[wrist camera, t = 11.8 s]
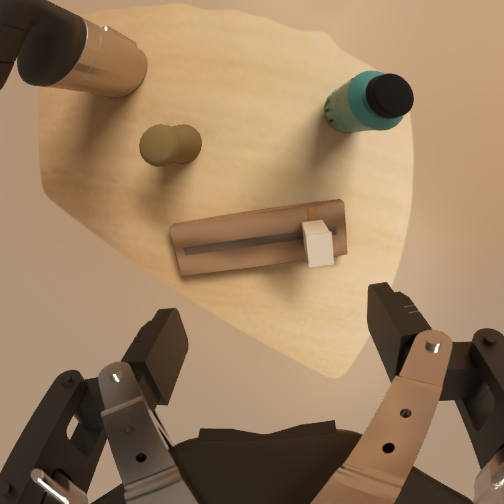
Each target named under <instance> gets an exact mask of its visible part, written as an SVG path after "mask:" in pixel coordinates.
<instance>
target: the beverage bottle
mask: <svg viewBox="0 0 504 504" xmlns="http://www.w3.org/2000/svg"><path fill="white" fill-rule="evenodd" d="M350 80H351V79H350ZM348 81H349V80H348ZM342 86H343V87H342ZM342 86H341V88H340V89H339V90H337V91H336V90H335V91H336V92H335V93H333V94H332V95H331V96H330V97H329V96H328V97H329V98H328V97H327V100H326V103H325V105H324V107H325V108H324V111H325V112H324V113H325V117H326V119H327V121H328V122H329V123H328V124H330V125H331V126H332V127H333V129H334V128H335V129H336V131H337V130H338V132H339V131H341V132H345V133H348V132H349V133H350V132H359V131H368V130H388V129H391V128H393V127H395V126H396V125H397V124H398V123H399V122H400V121H401V120H402V118H403V116H404V115H405V114H406V113H408V112H409V111H410V109H411V108H412V105H413V101H414V97H413V92H412V89H411V87H410V85H409V84H408V83H407V82H406V81H405V80H404V79H403V78H402V77H400V76H398V75H395V74H384V73H382V72H378V71H366V72H362V73H360V74H358V75H357V76H356V77H355V78H354V79H353V78H352V80H351V81H350V82H348V83H347V84H345V85H342Z"/></svg>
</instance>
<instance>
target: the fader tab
mask: <svg viewBox="0 0 504 504" xmlns="http://www.w3.org/2000/svg"><path fill="white" fill-rule="evenodd" d="M302 230H303V239H304V247H305V251H306V255H307V258H308V264H309V268H311V267H318V266H325V265H332V264H334V258H333V243H332V233H331V231H329V230H328V228H327V226H326V225H325V223H324V222H323V220H315V221H307V222H302Z"/></svg>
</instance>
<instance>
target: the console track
mask: <svg viewBox="0 0 504 504" xmlns="http://www.w3.org/2000/svg"><path fill="white" fill-rule="evenodd" d="M315 220H323V222H324V223H325V225H326V226H327V228H328V230H329V231H331V233H332V243H333V256H339V255H346V254H347V237H346V222H345V209H344V202H343V201H342V200H340V199H338V200H329V201H321V202H313V203H306V204H298V205H290V206H283V207H276V208H269V209H262V210H255V211H248V212H242V213H235V214H229V215H223V216H217V217H210V218H204V219H198V220H193V221H187V222H181V223H175V224H173V225H172V226H171V227H170V228H169V229H170V233H171V237H172V241H173V245H174V249H175V252H176V256H177V260H178V263H179V267H180V271H181V274H182V276H184V275H193V274H201V273H209V272H217V271H225V270H233V269H241V268H249V267H257V266H265V265H272V264H280V263H287V262H295V261H302V260H308V258H307V255H306V251H305V247H304V239H303V230H302V222H307V221H315Z"/></svg>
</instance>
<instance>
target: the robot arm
mask: <svg viewBox="0 0 504 504" xmlns="http://www.w3.org/2000/svg"><path fill="white" fill-rule="evenodd" d="M17 56H18V57H17ZM16 58H17V67H18V72H19V75H20V77H21V78H22V80H23V81H25V82H26V83H28V84H30V85H34V86H43V87H51V88H60V89H67V90H74V91H81V92H87V93H93V94H98V95H104V96H107V97H123V96H126V95H128V94H130V93H131V92H133V91H134V90H135V89H136V88H137V87H138V86H139V85H140V83H141V82H142V81H143V79H144V76H145V74H146V70H147V60H146V57H145V54H144V53H143V52H142V51H141V50H140V49H138V48H137V46H136V42H134V41H133V40H131V39H129V38H128V37H126V36H124V35H123V34H121V33H119V32H118V31H116V30H114V29H112V28H111V27H109V26H105V27H102V28H101V27H99V26H98V25H96V24H94V23H92V22H90V21H88V20H86V19H84V18H82V17H80V16H78V15H76V14H73V13H71V12H70V11H68V10H66V9H63V8H61V7H59V6H57V5H55V4H53V3H51V2H49V1H47V0H0V90H1V89H2V88H3V86H4V84H5V82H6V80H7V78H8V76H9V74H10V72H11V70H12V67H13V65H14V61H15V60H16ZM367 323H368V328H369V332H370V334H371V336H372V338H373V341H374V343H375V345H376V348H377V350H378V352H379V355H380V357H381V360H382V362H383V364H384V367H385V369H386V372H387V374H388V376H389V379H390V382H391V385H390V387H389V389H388V391H387V393H386V395H385V397H384V399H383V401H382V402H381V404H380V406H379V408H378V410H377V412H376V413H375V415H374V417H373V419H372V420H371V422H370V424H369V426H368V427H367V429H366V431H365V432H364V434H363V435H362V434H359V433H357V432H353V431H348V430H342V429H336V426H335V420H332V421H326V422H319V423H312V424H303V425H299V426H295V427H292V428H288V429H285V430H281V431H278V432H274V433H271V434H257V433H251V432H245V431H240V430H235V429H203V428H201V429H200V432H199V436H198V438H194V439H189V440H186V441H184V442H181V443H179V444H177V445H174V444H173V442H172V440H171V438H170V437H169V435H168V433H167V431H166V429H165V427H164V425H163V424H162V422H161V420H160V418H159V416H158V414H157V412H156V411H155V408H156V405H168V403H169V400H170V398H171V395H172V392H173V389H174V386H175V384H176V381H177V378H178V375H179V373H180V370H181V367H182V365H183V362H184V359H185V355H186V354H187V351H188V338H187V335H186V332H185V329H184V326H183V323H182V320H181V317H180V314H179V312H178V310H177V309H176V308H170V309H169V308H168V309H159V310H158V311H157V313H156V314H155V316H154V318H153V319H152V321H149V322H147V323H146V324H145V325H144V326H143V327H142V328H141V329H140V331H139V332H138V334H137V337H135V339H134V340H133V343H131V345H130V347H129V348H128V350H127V352H126V353H125V355H124V357H123V358H122V360H121V361H120V362H114V363H112V364H109V365H108V366H106V367H104V368H103V369H102V370H101V372H100V373H99V376H98V377H97V378H91V379H85V380H84V378H83V377H82V375H81V374H80V372H79V371H76V370H69V371H66V372H64V373H62V374H60V375H59V376H58V377H57V378H56V379H55V381H54V382H53V384H52V385H51V387H50V388H49V390H48V391H47V393H46V394H45V396H44V398H43V399H42V401H41V402H40V404H39V406H38V407H37V409H36V410H35V412H34V413H33V415H32V417H31V418H30V420H29V422H28V423H27V425H26V427H25V429H24V430H23V432H22V434H21V435H20V437H19V439H18V441H17V443H16V444H15V446H14V448H13V450H12V452H11V453H10V455H9V457H8V459H7V461H6V463H5V465H4V467H3V469H2V471H1V473H0V504H88V498H87V491H88V489H89V486H90V483H91V480H92V477H93V475H94V472H95V469H96V466H97V464H98V461H99V458H100V456H101V453H102V451H103V448H104V445H105V443H106V440H107V438H108V441H109V444H110V448H111V451H112V454H113V457H114V460H115V463H116V465H117V469H118V471H119V474H120V477H121V479H122V482H123V483H122V484H120V485H119V486H117V487H116V488H114V489H113V490H111V491H110V492H108V493H107V494H105V495H103V496H102V497H100V498H99V499H97V500H96V501H94V502H92V503H91V504H504V336H503V334H501V333H500V332H499V331H496V330H494V329H489V328H485V329H480V330H478V331H477V332H476V333H475V334H474V336H473V339H472V342H452V340H451V339H450V337H449V336H448V335H447V334H445V333H444V332H441V331H438V330H432V329H431V327H430V326H429V324H428V323H427V321H426V320H425V319H424V317H423V316H422V314H421V313H420V312H418V309H417V308H416V306H414V303H413V302H412V301H411V300H410V298H409V297H408V296H406V295H404V294H403V293H401V292H395V293H394V291H393V290H392V289H391V287H390V286H389V284H388V283H387V282H383V283H377V284H371V285H369V286H368V305H367ZM447 400H455V403H456V405H457V407H458V409H459V412H460V414H461V416H462V419H463V422H464V424H465V427H466V429H467V431H468V434H469V437H470V439H471V442H472V445H473V448H474V450H475V453H476V456H477V459H478V462H479V465H480V468H481V471H480V472H479V474H478V475H477V477H476V479H475V484H474V489H475V497H474V500H473V502H472V501H471V500H470V499H468V498H467V497H465V496H464V495H462V494H460V493H458V492H456V491H454V490H453V489H451V488H449V487H448V486H446V485H444V484H442V483H441V482H439V481H437V480H435V479H434V478H432V477H430V476H429V475H427V474H425V473H424V472H422V471H420V470H419V469H417V468H415V467H414V466H413V464H414V462H415V459H416V458H417V455H418V453H419V451H420V449H421V446H422V444H423V442H424V439H425V437H426V434H427V432H428V429H429V426H430V424H431V421H432V418H433V416H434V413H435V410H436V407H437V404H438V401H447ZM73 415H74V417H75V418H76V419H77V420H78V422H79V423H78V425H77V427H76V429H75V431H74V433H73V435H72V437H71V439H70V440H69V439H68V437H67V433H66V430H67V427H68V425H69V423H70V420H71V419H72V417H73Z"/></svg>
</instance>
